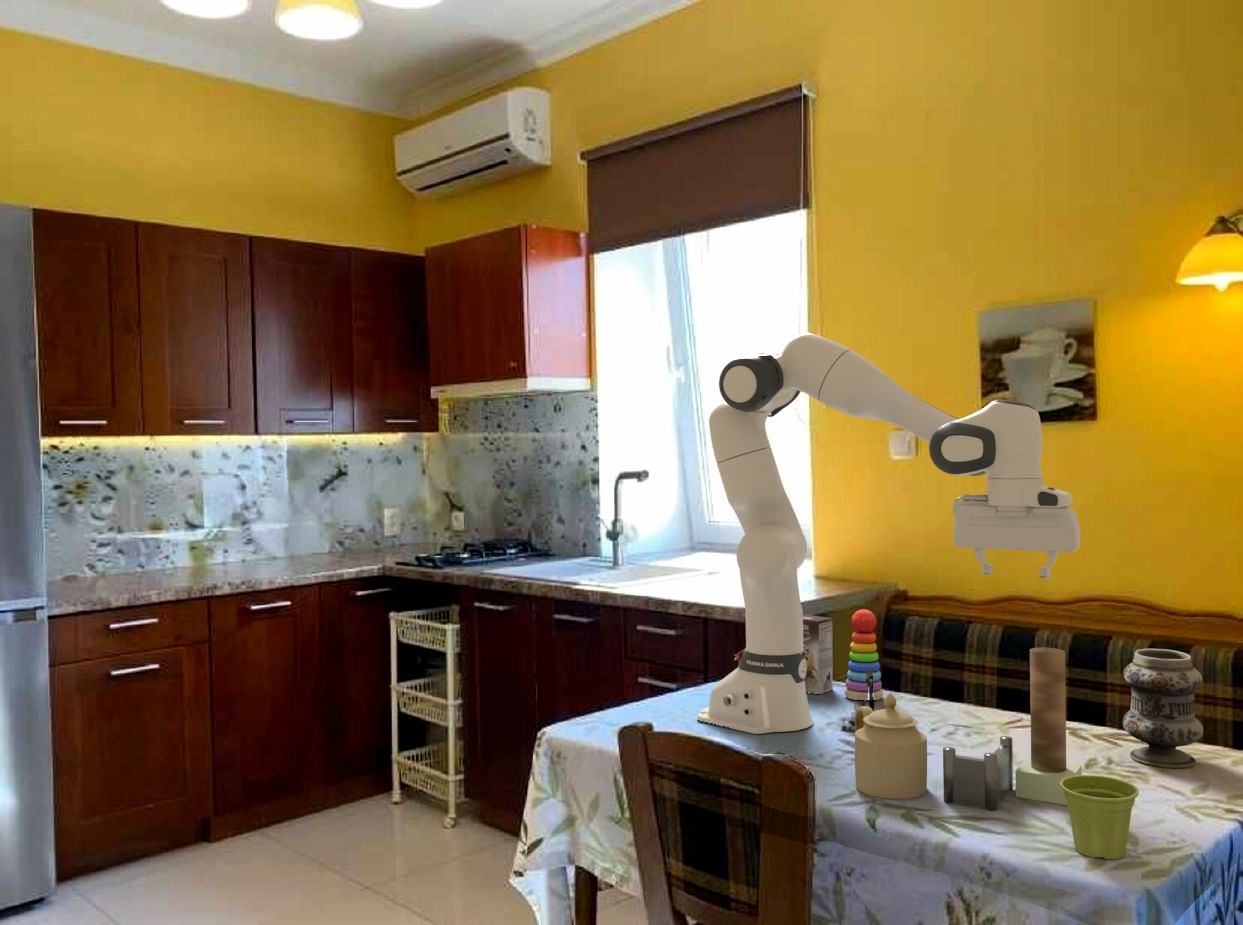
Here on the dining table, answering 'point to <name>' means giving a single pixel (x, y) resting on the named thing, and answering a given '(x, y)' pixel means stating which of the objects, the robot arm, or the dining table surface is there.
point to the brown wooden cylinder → (1048, 709)
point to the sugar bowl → (889, 753)
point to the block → (1043, 782)
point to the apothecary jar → (1162, 706)
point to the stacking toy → (863, 658)
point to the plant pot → (1099, 814)
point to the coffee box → (818, 653)
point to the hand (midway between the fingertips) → (1015, 576)
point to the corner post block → (978, 777)
